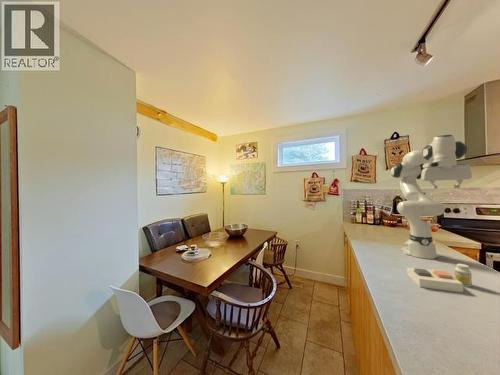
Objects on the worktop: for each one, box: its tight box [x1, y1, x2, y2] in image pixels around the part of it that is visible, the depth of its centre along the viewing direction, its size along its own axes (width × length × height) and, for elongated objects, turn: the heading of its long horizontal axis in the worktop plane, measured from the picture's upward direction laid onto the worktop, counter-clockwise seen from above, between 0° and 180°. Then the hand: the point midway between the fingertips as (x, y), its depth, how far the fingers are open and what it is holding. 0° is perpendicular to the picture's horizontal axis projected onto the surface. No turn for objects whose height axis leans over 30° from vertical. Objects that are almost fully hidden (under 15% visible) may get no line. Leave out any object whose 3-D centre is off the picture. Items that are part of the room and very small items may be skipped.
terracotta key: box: [432, 269, 453, 279], centre depth 94 cm, size 5×5×3 cm
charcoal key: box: [413, 267, 431, 277], centre depth 96 cm, size 5×5×3 cm
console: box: [406, 267, 464, 293], centre depth 95 cm, size 14×16×4 cm
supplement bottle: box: [454, 263, 473, 288], centre depth 92 cm, size 5×5×10 cm
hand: (445, 188), depth 103 cm, fingers open, 8 cm apart
